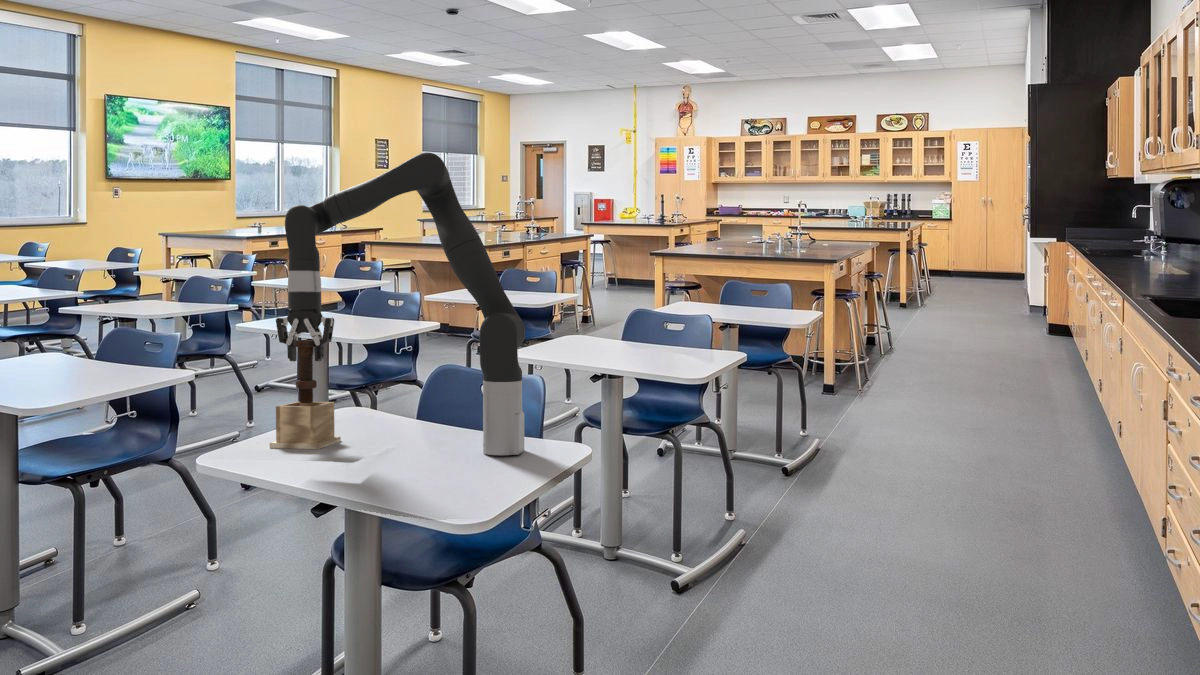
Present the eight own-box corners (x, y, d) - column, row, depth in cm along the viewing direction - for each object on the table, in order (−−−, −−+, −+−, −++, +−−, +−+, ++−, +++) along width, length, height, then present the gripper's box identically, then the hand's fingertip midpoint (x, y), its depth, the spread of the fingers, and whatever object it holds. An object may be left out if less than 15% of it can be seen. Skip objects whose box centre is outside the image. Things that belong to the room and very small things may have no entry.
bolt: (304, 404, 203) (303, 340, 203) (289, 403, 206) (288, 340, 205) (323, 402, 208) (322, 340, 208) (308, 401, 211) (307, 339, 210)
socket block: (340, 441, 212) (340, 401, 212) (318, 449, 201) (317, 407, 200) (294, 440, 214) (294, 401, 214) (269, 448, 202) (269, 406, 202)
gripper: (340, 290, 209) (341, 360, 209) (284, 291, 211) (285, 360, 211) (326, 289, 202) (327, 362, 202) (268, 290, 203) (269, 362, 204)
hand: (305, 360), depth 207 cm, fingers closed on bolt, 5 cm apart
